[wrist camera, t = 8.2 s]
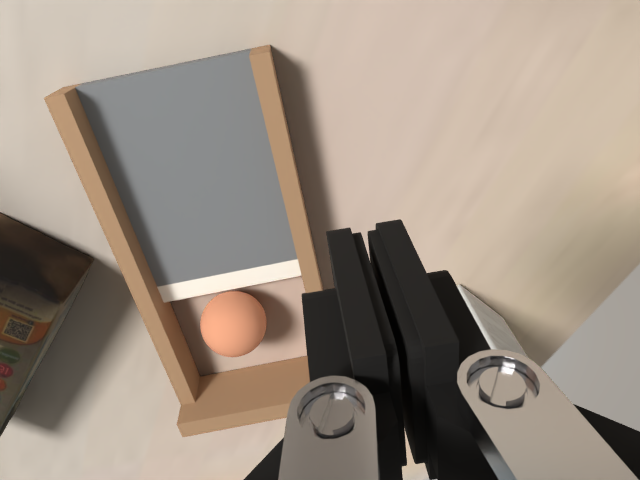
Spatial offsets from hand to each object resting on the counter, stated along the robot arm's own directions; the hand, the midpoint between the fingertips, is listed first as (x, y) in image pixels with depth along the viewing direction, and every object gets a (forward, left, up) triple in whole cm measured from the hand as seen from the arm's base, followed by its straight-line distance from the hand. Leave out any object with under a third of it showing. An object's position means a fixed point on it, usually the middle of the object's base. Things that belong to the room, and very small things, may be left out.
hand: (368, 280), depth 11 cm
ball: (+16, -9, -22) cm, 29 cm away
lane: (+11, -9, -24) cm, 28 cm away
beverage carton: (+14, -27, -25) cm, 39 cm away
